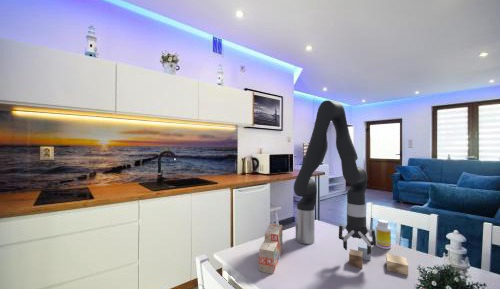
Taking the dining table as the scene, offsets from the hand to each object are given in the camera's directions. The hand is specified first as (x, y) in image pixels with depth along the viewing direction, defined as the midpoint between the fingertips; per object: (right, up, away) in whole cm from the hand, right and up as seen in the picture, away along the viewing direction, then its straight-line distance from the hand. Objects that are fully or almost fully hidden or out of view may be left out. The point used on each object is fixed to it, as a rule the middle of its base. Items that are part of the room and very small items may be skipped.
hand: (356, 251), depth 92 cm
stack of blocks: (-36, -6, +4) cm, 37 cm away
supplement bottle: (+22, -6, +17) cm, 28 cm away
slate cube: (+7, -6, +7) cm, 11 cm away
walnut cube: (0, -6, 0) cm, 6 cm away
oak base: (+15, -6, -2) cm, 17 cm away
